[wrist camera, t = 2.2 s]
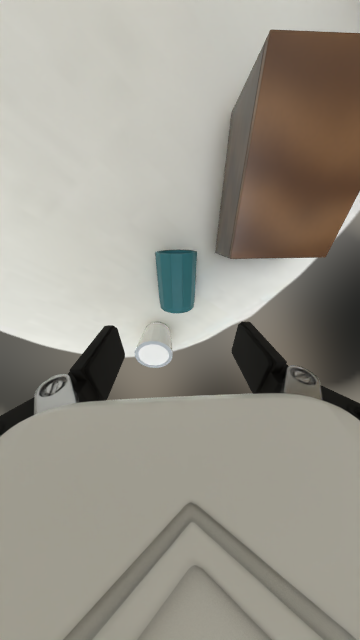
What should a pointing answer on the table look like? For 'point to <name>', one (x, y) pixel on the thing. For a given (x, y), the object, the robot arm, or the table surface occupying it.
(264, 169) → the stand
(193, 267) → the drinking cup
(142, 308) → the table surface
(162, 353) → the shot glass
